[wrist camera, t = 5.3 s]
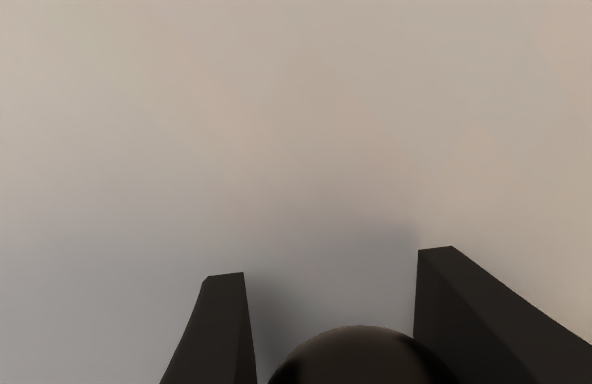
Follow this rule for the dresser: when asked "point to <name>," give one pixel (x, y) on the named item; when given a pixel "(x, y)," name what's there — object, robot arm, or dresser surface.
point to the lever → (363, 360)
